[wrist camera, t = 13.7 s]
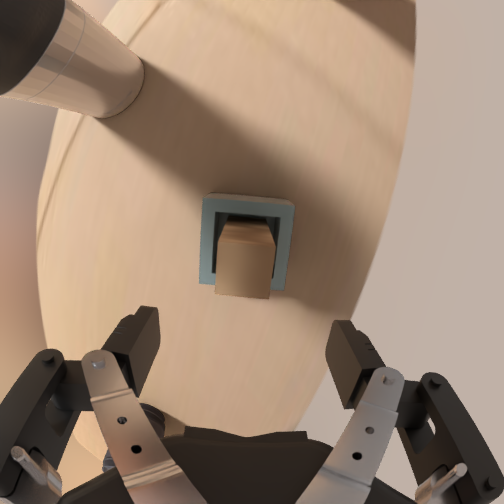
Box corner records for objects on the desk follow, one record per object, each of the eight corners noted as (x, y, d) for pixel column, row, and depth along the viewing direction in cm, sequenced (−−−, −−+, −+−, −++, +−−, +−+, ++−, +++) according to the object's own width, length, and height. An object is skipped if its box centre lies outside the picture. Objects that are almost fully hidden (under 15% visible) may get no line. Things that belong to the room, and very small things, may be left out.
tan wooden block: (225, 251, 31) (214, 294, 20) (228, 215, 30) (218, 241, 19) (261, 254, 31) (268, 299, 20) (265, 219, 30) (275, 247, 19)
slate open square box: (206, 264, 32) (199, 283, 27) (210, 192, 30) (202, 197, 25) (278, 270, 33) (283, 290, 27) (286, 199, 30) (295, 205, 25)
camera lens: (170, 407, 40) (150, 479, 25) (167, 431, 42) (151, 495, 28) (125, 393, 39) (96, 459, 25) (127, 419, 41) (104, 479, 27)
